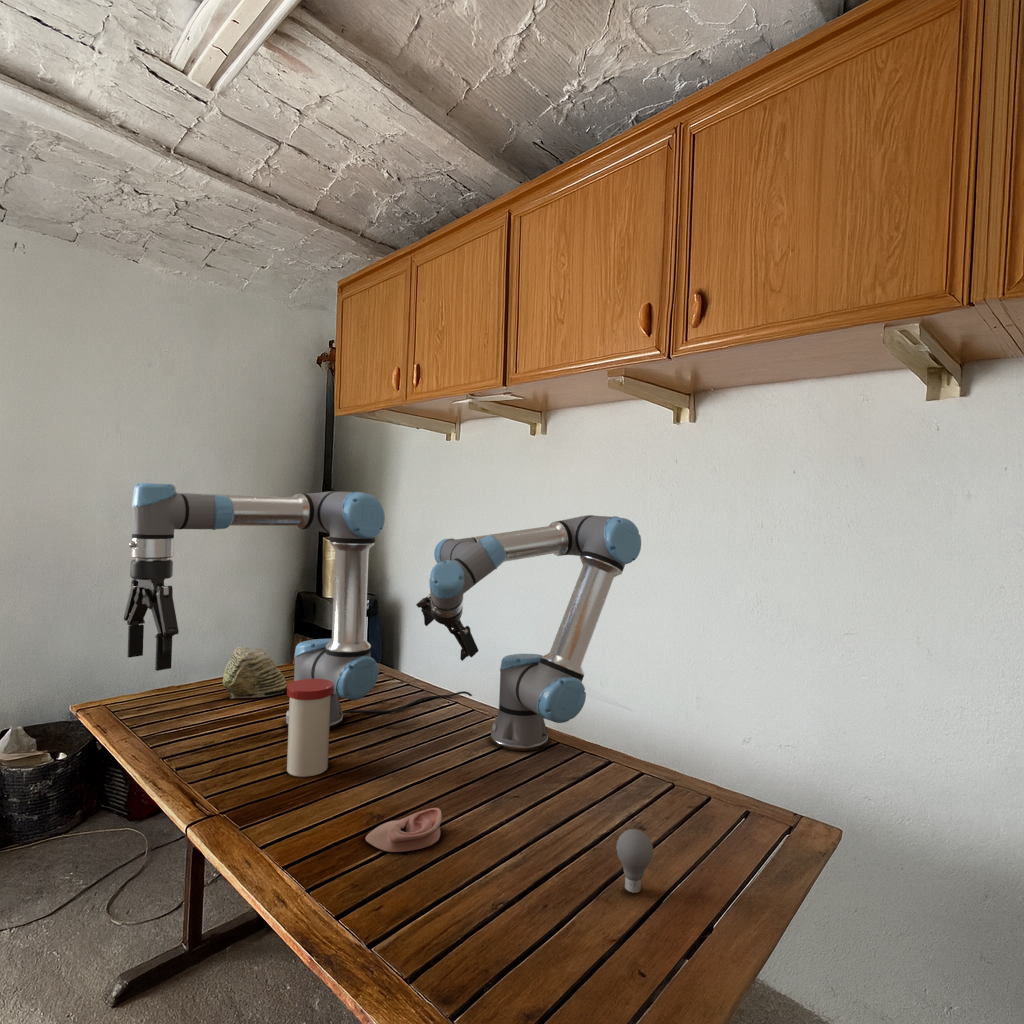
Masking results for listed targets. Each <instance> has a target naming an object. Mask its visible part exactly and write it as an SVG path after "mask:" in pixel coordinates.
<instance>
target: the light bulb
mask: <svg viewBox="0 0 1024 1024" xmlns="http://www.w3.org/2000/svg"><path fill="white" fill-rule="evenodd" d="M615 849H616V854H617V857H618V859H619V861H620V863H621V865H622V867H623V873H624V874H623V875H624V876H625V878H624V888H625V890H627V891H628V892H630V893H634V894H635V893H639V892H640V891H641V889H642V887H641V886H642V879H643V877H644V875H645V871H646V868H647V867H648V866H649V864H650V863H651V861H652V859H653V855H654V847H653V843H652V841H651V838H649V836H648V835H647V834H646V833H645V832H643V831H642V830H641V829H636V828H629V829H627V830H625V831H623V832H622V833H621V834H620V835H619V837H618V839H617V841H616V847H615Z"/></svg>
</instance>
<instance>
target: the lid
mask: <svg viewBox="0 0 1024 1024" xmlns="http://www.w3.org/2000/svg"><path fill="white" fill-rule="evenodd" d="M333 692H334V685H333V682H331V681H329V680H325V679H302V680H297V681H294V680H293V681H291V682H289V683H287V687H286V695H287V697H288V698H289V697H290V698H293V699H298V700H315V699H321V698H325V697H328V696H330V695H332V694H333Z"/></svg>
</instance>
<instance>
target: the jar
mask: <svg viewBox="0 0 1024 1024" xmlns="http://www.w3.org/2000/svg"><path fill="white" fill-rule="evenodd" d="M330 700H331V695H330V696H328V697H325V698H321V699H315V700H298V699H293V698H290V697H289V696H288V710H289V722H288V727H287V752H286V772H287V773H288V774H289V775H290V776H293V777H301V778H302V777H303V778H306V777H307V778H308V777H314V776H317V775H320V774H322V773H324V772H325V771H327V770H328V768H329V750H330V748H329V747H330V729H329V726H330Z"/></svg>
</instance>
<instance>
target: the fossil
mask: <svg viewBox="0 0 1024 1024" xmlns="http://www.w3.org/2000/svg"><path fill="white" fill-rule="evenodd" d="M222 676H223V677H222V685H223V687H224V688H225V690H226V691H228V693H229V698H230V699H250V698H264V697H271V696H275V695H281V694H284V693H285V691H287V686H288V684H287V680H286V678H285V676H284V674H283V673H282V672H281V669H279V668H278V667H277V665H276V663H275V662H274V660H273V659H272V658H271V657H270V656H269V655H268V654H267V653H266V652H265V650H264V649H263V648H260V647H258V648H251V647H247V646H246V647H245V646H238V647H237V648H236V649H235V650H233V651H232V653H231V656H230V657H229V659H228V660H227V663H226V666H225V668H224V671H223V675H222Z"/></svg>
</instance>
